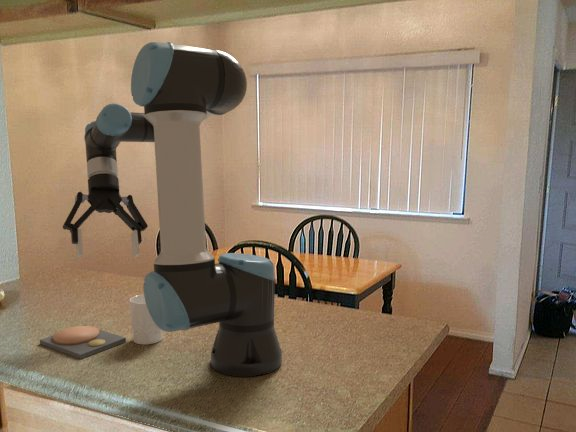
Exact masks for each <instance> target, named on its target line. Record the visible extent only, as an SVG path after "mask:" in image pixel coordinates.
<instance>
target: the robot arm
mask: <svg viewBox="0 0 576 432" xmlns="http://www.w3.org/2000/svg"><path fill="white" fill-rule="evenodd" d="M130 77H131V79H130V92H131V93H130V94H131V96H132V100H133V102H134V104H135V105H138V106H139V107H143V111H144V112H134V111H133V112H131V111H130V110H129V109H128V108H127V107H126V106H124V105H121V104H120V103H113V102H112V103H108V104H106V105H105V106H104V107H103V108H102V109H101V110H100V112H99V113H98V115H97V117H96V119H95V120H94V121H90V123H88V124H86V126H85V128H84V137H83V138H84V139H83V140H84V143H85V155H86V157H85V158H86V170H87V174H86V175H87V176H86V177H87V190H88V194H84V193H83V192H82V191H78V192H77V194H76V195H75V199H74V205H72V206H73V207H72V208H71V210H70V212H69V214H68V216H67V218H66V219H65V221H64V222H63V225H62V229H63V230H65V231H66V230H67V231H69V233H70V235H71V237H70V238H71V244H72V245H75V247H76V248H75V249H76V259H80V258H81V257H82V256H84V253H83V252H84V251H83V237H82V236H83V234H82V228H80V227H81V226H82V225H83V224H84V223H85V222H86V220H88V218H89V217H90V216H91V215H92V214H93V213H94V212H95V211H96V212H98V213H101V214H102V213H107V214H111V213H113V214H114V215H115V216H117V217H119V218H120V220H122V221H123V222H124V224H125V225H126V226H127V227H128V228H129V229H130V230H131V231H132V232H131V234H130V237H131V249H132V250H131V251H132V258H133V259H134V258H138V257H139V255H140V247H139V245H140V244H142V241H143V240H142V239H143V238H142V232H144V231H145V230H146V229H147V228H148V224H147V221H146V220H145V219H144V217H143V215H142V214H141V212H140V211H139V209H138V207H137V206H136V204H135V203H134V198H133V195H132V194H128V195H127V196H122V195H121V194H120V183H119V182H120V181H119V171H118V159H117V158H118V157H117V148H118V147H119V145H120V143H121V142H123V143H124V142H125V143H154V155H155V156H154V157H155V170H156V171H155V173H156V174H155V175H156V188H157V189H156V190H157V205H158V206H157V207H158V209H157V210H158V222H159V223H158V224H159V225H158V226H159V237H160V238H159V239H160V240H159V241H160V253H159V254H158V255H157V257H155V259H154V260H153V271H150V272H148V273H147V274H146V275H145V276H144V279H143V286H142V287H143V294H144V297H145V302H146V305H147V308H148V311H149V313H150V316H151V317H152V319H153V321H154V323H155V324H156V325H157V326H158V327H159V328H160V329H161V330H163V331H164V332H166V333H172V332H173V333H174V332H179V331H184V332H186V331H188V330H191V329H194V328H200V327H203V326H207V325H212V324H216V323H218V330H217V333H216V335H215V338H214V342H213V346H212V349H211V350H210V365H211V367H212V368H213V369H214V370H215V371H216V370H217V372H218V371H219V372H218V373H220V372H221V373H220V374H223V373H224V374H223V375H226V374H228V375H227V376H231V375H234V376H233V377H240V376H250V377H256V376H255V375H259V376H261V375H260V374H263V375H266V374H265V373H267V374H269V373H268V372H270V373H272V372H274V371H276V370H277V369H279V368H280V367H279V366H281V365H282V362H283V353H282V352H283V351H282V348H281V346H280V342H279V339H278V335H277V331H276V329H275V283H276V274H275V264H274V262H273V261H272V260H271V259H269V258H267V257H264V256H261V255H256V254H248V253H238V252H227V253H226V252H225V253H221V254H220V255H219V257H218V258H217V261H218V262H217V263H216V262H215V261H216V259H215V255H213V253H211V252H210V251H209V250H208V249H207V239H206V235H207V234H206V218H205V217H206V216H205V203H204V202H205V200H204V183H203V167H202V166H203V165H202V163H203V162H202V150H201V149H202V148H201V147H202V146H201V131H200V130H201V129H200V128H201V127H200V125H201V123H203V122H204V120H206V119H209V118H210V117H211V116H222V115H225V114H227V113H229V112H231V111H233V110H235V109H236V108H237V107H239V105H241V103H242V101H244V99H245V96H246V94H247V90H248V89H247V88H248V81H247V77H246V73H245V71H244V68H243V67H242V65H241V63H240V62H238V60H237V59H235V57H234V56H233V55H231V54H229V53H227V52H225V51H222V50H220V49H210V48H204V47H203V48H202V47H198V46H191V45H187V44H186V45H184V44H177V43H173V42H160V41H159V42H157V41H151V42H147V43H145V44H144V45H143V46H142V47H141V48H140V50H139V51H138V53H137V55H136V58H135V60H134V63H133V67H132V72H131V76H130ZM85 201H87V202H88V203H89V204H90V206H89V207H88V209H87V210H85V212H84V213H83V214H81V216H80V217H79V218H78V219H77V220H76V221H75V222H74V223H72V221H73V220H74V218H75V216H76V213H77V212H78V209H79V208H80V206H81V205H82V204H83V203H85ZM121 203H123V205H124V206H126V208H127V210H128V212H129V213H130V214H129V213H128V212H127V211H126V209H124V207H123V206H122V205H121ZM271 371H272V372H271Z"/></svg>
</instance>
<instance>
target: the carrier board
mask: <svg viewBox="0 0 576 432" xmlns="http://www.w3.org/2000/svg"><path fill="white" fill-rule="evenodd" d="M126 342H127V339H126V337H124V336H121V335H118V334H115V333H113V332H112V333H111V332H109V331H106V330H102V329H99V328H98V327H95V326H91V325H86V324H85V325H76V326H70V327H66V328H62V329H60V330H58V331H55V332H54V333H53V334H52V335H51V336H47V337H44V338H41V339H39V344H40V345H42V346H43V347H47V348H49V349H53V350H55V351H57V352H58V351H59V352H61V353H63V354H66V355H69V356H72V357H74V358H77V359H79V360H81V359H82V360H84V359H85V358H87V357H90V356H92V355H95V354H97V353H100V352H101V353H102V352H103V351H105V350H108V349H111V348H114V347H116V346H119V345H121V344H123V343H124V344H125V343H126Z"/></svg>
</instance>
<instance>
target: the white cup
mask: <svg viewBox="0 0 576 432" xmlns="http://www.w3.org/2000/svg"><path fill="white" fill-rule="evenodd" d="M129 314H130V324H131V331H132V340H133V343H135V344H138V345H143V346H144V345H153V344H156V343H159V342H161V341H162V340H163V334H164V333H163V330H161V329H160V328H159V327H158V326H157V325H156V324H155V323H154V321H153V319H152V317H151V316H150V313H149V311H148V308H147V305H146V302H145V297H144V293H142V294H138V295H135V296H132V297H130V298H129Z"/></svg>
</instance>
